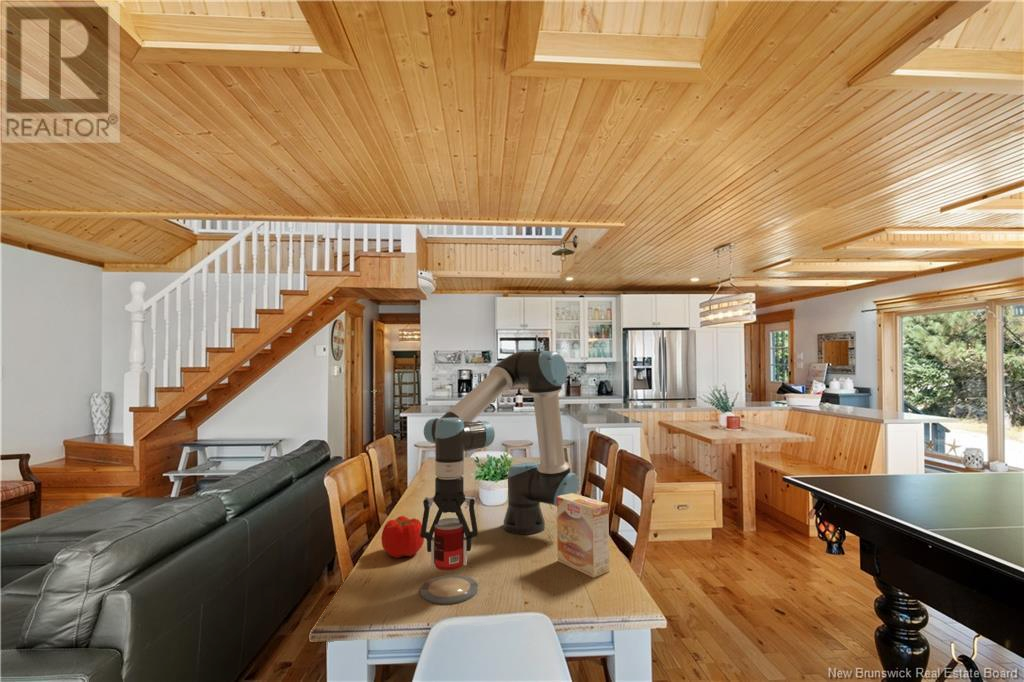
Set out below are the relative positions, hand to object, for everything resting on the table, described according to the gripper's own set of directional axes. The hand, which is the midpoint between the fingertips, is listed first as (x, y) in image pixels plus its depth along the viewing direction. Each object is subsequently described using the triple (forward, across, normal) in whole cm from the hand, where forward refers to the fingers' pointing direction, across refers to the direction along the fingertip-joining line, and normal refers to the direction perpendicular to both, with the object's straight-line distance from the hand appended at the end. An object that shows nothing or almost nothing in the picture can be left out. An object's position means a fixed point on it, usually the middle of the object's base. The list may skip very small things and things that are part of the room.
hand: (449, 563), depth 128 cm
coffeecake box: (+7, +38, +13) cm, 41 cm away
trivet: (+7, 0, 0) cm, 7 cm away
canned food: (0, 0, 0) cm, 0 cm away
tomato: (+7, -17, +26) cm, 32 cm away
